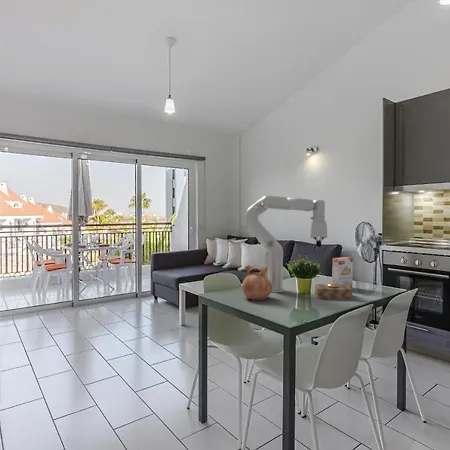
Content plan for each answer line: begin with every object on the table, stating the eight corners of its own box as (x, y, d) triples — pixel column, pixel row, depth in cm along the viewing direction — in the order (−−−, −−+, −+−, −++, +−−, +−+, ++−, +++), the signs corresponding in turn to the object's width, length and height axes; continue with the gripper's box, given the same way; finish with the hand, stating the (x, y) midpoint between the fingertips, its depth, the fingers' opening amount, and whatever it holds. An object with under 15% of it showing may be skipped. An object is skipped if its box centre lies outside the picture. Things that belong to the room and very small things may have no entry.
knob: (328, 296, 214) (328, 285, 214) (326, 294, 221) (326, 283, 221) (339, 297, 213) (339, 285, 213) (337, 294, 220) (337, 283, 220)
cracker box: (338, 290, 233) (338, 259, 233) (331, 288, 239) (331, 258, 238) (353, 288, 240) (353, 257, 240) (346, 286, 246) (346, 256, 245)
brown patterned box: (317, 298, 212) (317, 288, 211) (315, 293, 225) (315, 284, 225) (352, 299, 209) (352, 289, 209) (347, 294, 223) (347, 284, 222)
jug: (277, 297, 216) (277, 264, 215) (263, 303, 201) (263, 268, 200) (251, 293, 226) (251, 262, 226) (236, 299, 211) (236, 266, 211)
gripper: (307, 219, 228) (307, 247, 228) (331, 219, 225) (331, 247, 226) (306, 218, 235) (306, 246, 236) (329, 218, 233) (329, 246, 234)
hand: (318, 246), depth 231 cm, fingers closed
